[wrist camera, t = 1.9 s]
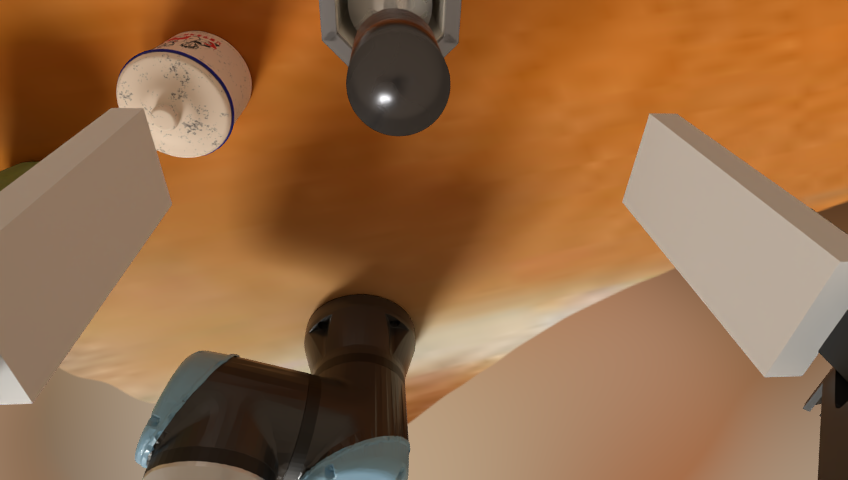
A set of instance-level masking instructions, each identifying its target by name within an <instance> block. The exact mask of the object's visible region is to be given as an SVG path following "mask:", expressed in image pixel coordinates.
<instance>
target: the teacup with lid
mask: <svg viewBox="0 0 848 480" xmlns="http://www.w3.org/2000/svg"><path fill="white" fill-rule="evenodd" d="M251 91H252V81H251V75H250V72H249V69H248V67H247V64H246V63H245V61H244V59H243V58H242V56H241V55H240V54H239V52H238V51H237V50H236V49H235V48H234V47H233V46H232V45H230V44H229V43H228V42H226V41H225V40H223V39H222V38H220V37H218V36H216V35H213V34H210V33H207V32H202V31H187V32H183V33H180V34H177V35H175V36H173V37H172V38H170V39H168V40H167V41H165V42H164V43H162V44H160V45H159V46H157V47H156V48H154V49H152V50H148V51H144V52H142V53H139V54H138V55H136V56H134V57H133V58H132V59H130V60H129V61H128V62H127V63H126V64H125V66H124V67H123V69H122V70H121V72H120V75H119V78H118V82H117V88H116V95H117V102H118V106H119V108H144V111H145V115H146V118H147V121H148V125H149V128H150V131H151V135H152V138H153V142H154V145H155V148H156V150H158V151H160V152H162V153H165V154H168V155H172V156H176V157H184V158H191V157H199V156H203V155H207V154H209V153H212V152H214V151H215V150H217V149H218V148H220V147H221V146H222V145H223V144H224V143H225V142H226V140H227V139H228V137H229V136H230V134H231V131H232V129H233V125H234V123H235V122H236V120H237V119H238V117H239V116H240V114H241V113H242V112H243V110H244V109H245V107H246V106H247V104H248V102H249V99H250V96H251Z"/></svg>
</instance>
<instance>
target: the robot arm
mask: <svg viewBox="0 0 848 480" xmlns="http://www.w3.org/2000/svg"><path fill="white" fill-rule="evenodd" d="M623 203H624V205H625V206H626V207H627V208H628V210H629V211H630V212H631V213H632V215H633V216H634V217H635V218H636V219H637V221H638V222H639V223H640V224H641V226H642V227H643V228H644V229H645V231H646V232H647V233H648V234H649V235H650V237H651V238H652V239H653V240H654V242H655V243H656V244H657V245H658V247H659V248H660V249H661V250H662V252H663V253H664V254H665V255H666V256H667V258H668V259H669V260H670V261H671V263H672V264H673V265H674V266H675V268H676V269H677V270H678V271H679V272H680V274H681V275H682V276H683V277H684V279H685V280H686V281H687V282H688V284H689V285H690V286H691V287H692V288H693V290H694V291H695V292H696V293H697V295H698V296H699V297H700V298H701V300H702V301H703V302H704V303H705V304H706V305H707V307H708V308H709V309H710V311H711V312H712V313H713V314H714V316H715V317H716V318H717V319H718V320H719V322H720V323H721V324H722V325H723V327H724V328H725V329H726V330H727V332H728V333H729V334H730V335H731V337H732V338H733V339H734V340H735V341H736V343H737V344H738V345H739V346H740V348H741V349H742V350H743V351H744V352H745V354H746V355H747V356H748V357H749V359H750V360H751V361H752V362H753V363H754V365H755V366H756V367H757V368H758V370H759V371H760V372H761V373H762V375H763V376H764V377H787V376H802V375H803V374H804V373H805V371H806V370H807V369H808V367H809V366H810V364H811V363H812V362H813V360H814V359H815V357H816V356H817V355H818V353H820V354H821V355H822V356H823V357H824V358H825V359H826V360H827V361H828V362H829V363H830V364H831V365H832V366H833V368H832V369H831V370H830V372H829V373H828V374H827V375H826V377H825V378H824V379H823V381H822V382H821V383H820V384H819V386H818V387H817V389H816V390H815V391H814V392H813V394H812V395H811V396H810V398H809V399H808V400H807V402H806V404H805V406H804V407H803V409H805V410H807V411H811V409H812V408H813V407H814V405H817V404H822V407H821V414H820V416H821V426H820V447H819V468H818V480H848V235H847V233H845V232H844V231H842V230H841V229H839V228H838V227H837V226H835V225H833V224H832V223H831V222H829V221H828V220H827V219H825V218H824V217H823V216H821V215H820V214H818V213H817V212H816V211H814V210H813V209H811V208H809V207H808V206H806V205H805V204H804V203H802V202H801V201H799V200H798V199H796V198H795V197H794V196H792V195H791V194H789V193H788V192H787V191H785V190H784V189H782V188H781V187H779V186H778V185H777V184H775V183H774V182H772V181H771V180H770V179H768V178H767V177H765V176H764V175H762V174H761V173H760V172H758V171H757V170H755V169H754V168H753V167H751V166H750V165H748V164H747V163H745V162H744V161H743V160H741V159H740V158H738V157H737V156H736V155H734V154H733V153H731V152H730V151H729V150H727V149H726V148H724V147H723V146H721V145H720V144H719V143H717V142H716V141H714V140H713V139H712V138H710V137H709V136H707V135H706V134H704V133H703V132H702V131H700V130H699V129H697V128H696V127H695V126H693V125H692V124H690V123H689V122H687V121H686V120H685V119H683V118H682V117H680V116H679V115H678V114H649V117H648V121H647V124H646V127H645V130H644V134H643V137H642V140H641V143H640V147H639V150H638V153H637V156H636V159H635V163H634V166H633V169H632V172H631V176H630V179H629V182H628V185H627V189H626V192H625V195H624V198H623ZM171 205H172V202H171V199H170V195H169V192H168V189H167V185H166V182H165V179H164V175H163V172H162V168H161V165H160V162H159V158H158V155H157V152H156V148H155V145H154V142H153V138H152V135H151V131H150V128H149V125H148V121H147V118H146V115H145V111H144V108H111V109H109V110H108V111H107V112H105V113H104V114H103V115H101V116H100V117H99V118H97V119H96V120H95V121H93V122H92V123H91V124H89V125H88V126H87V127H85V128H84V129H83V130H81V131H80V132H79V133H77V134H76V135H75V136H73V137H72V138H71V139H69V140H68V141H67V142H65V143H64V144H63V145H61V146H60V147H59V148H57V149H56V150H55V151H53V152H52V153H51V154H49V155H48V156H47V157H45V158H44V159H43V160H41V161H40V162H39V163H37V164H36V165H35V166H33V167H32V168H31V169H29V170H28V171H27V172H25V173H24V174H23V175H21V176H20V177H19V178H17V179H16V180H15V181H13V182H12V183H11V184H10V185H8V186H7V187H6V188H4V189H3V190H2V191H0V405H2V404H3V405H4V404H30V403H31V404H32V403H33V402H34V401H35V400H36V398H37V397H38V395H39V394H40V392H41V391H42V390H43V388H44V387H45V385H46V384H47V382H48V381H49V380H50V378H51V377H52V375H53V374H54V372H55V371H56V370H57V368H58V367H59V365H60V364H61V362H62V361H63V360H64V358H65V357H66V355H67V354H68V352H69V351H70V350H71V348H72V347H73V345H74V344H75V342H76V341H77V340H78V338H79V337H80V335H81V334H82V332H83V331H84V330H85V328H86V327H87V325H88V324H89V322H90V321H91V320H92V318H93V317H94V315H95V314H96V312H97V311H98V310H99V308H100V307H101V305H102V304H103V302H104V301H105V300H106V298H107V297H108V295H109V294H110V292H111V291H112V289H113V288H114V287H115V285H116V284H117V282H118V281H119V279H120V278H121V277H122V275H123V274H124V272H125V271H126V269H127V268H128V267H129V265H130V264H131V262H132V261H133V259H134V258H135V257H136V255H137V254H138V252H139V251H140V249H141V248H142V247H143V245H144V244H145V242H146V241H147V239H148V238H149V237H150V235H151V234H152V232H153V231H154V229H155V228H156V227H157V225H158V224H159V222H160V221H161V219H162V218H163V217H164V215H165V214H166V212H167V211H168V209H169V208H170V207H171ZM304 346H305V352H306V356H307V360H308V364H309V368H310V372H311V374H308V373H305V372H301V371H296V370H292V369H288V368H283V367H279V366H275V365H270V364H266V363H262V362H257V361H253V360H249V359H244V358H240V357H239V355H237V354H230V355H227V354H221V353H216V352H211V351H198V352H196V353H194V354H192V355H190V356H189V357H187V358H186V359H185V360H184V361H183V362H182V363H181V365H180V366H179V367H178V369H177V370H176V371H175V373H174V374H173V376H172V377H171V379H170V381H169V382H168V384H167V386H166V387H165V389H164V391H163V392H162V394H161V396H160V398H159V400H158V401H157V403H156V405H155V407H154V409H153V411H152V416H151V418H150V419H149V421H148V423H147V425H146V427H145V428H144V430H143V432H142V435H141V437H140V440H139V443H138V445H137V448H136V453H135V461H136V462H137V463H139V464H141V466H142V467H145V468H147V469H146V471H145V474H144V476H143V479H142V480H407V479H408V466H409V452H410V444H409V442H408V426H407V410H406V394H405V377H406V374H407V371H408V368H409V366H410V363H411V360H412V357H413V354H414V351H415V330H414V325H413V322H412V320H411V318H410V317H409V315H408V314H407V313H406V312H405V311H404V310H403V309H402V308H401V307H400V306H398V305H397V304H395V303H393V302H391V301H389V300H387V299H384V298H381V297H377V296H372V295H349V296H344V297H340V298H337V299H334V300H332V301H330V302H328V303H326V304H324V305H323V306H321V307H320V308H319V309H318V310H317V311H316V312H315V313H314V314H313V315H312V317H311V318H310V320H309V322H308V325H307V328H306V334H305V341H304Z"/></svg>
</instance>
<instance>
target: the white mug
mask: <svg viewBox="0 0 848 480" xmlns="http://www.w3.org/2000/svg"><path fill="white" fill-rule="evenodd" d="M319 7H320V20H321V33H322V41H323V42H324V43H325V44H326V45H327V46H328V47H329V48H330V49H331V50H332V51H333V52H334V53H335V54H336V55H337V56H338V57H339V58H340V59H341V60H342V61H343V62H344V63H345V64H346V65H347V66H348V67H349V62H350V57H351V52H352V47H353V42H354V39H355V36H356V33H357V30H356V29H355V27H354V25H353V23H352V21H351V18H350V15H349V11H348V0H319ZM460 14H461V0H432V14H431V18H430V21H429V24H428V26H429V27H430V28H431V30H432V32H433V34H434V36H435V39H436V41H437V43H438V46H439V48H440V50H441V53H442V55H443V57H445V56H446V55H447V54H448V53H449V52H450V51H451V50H452V49H453V48H454V47H455V46H456V45H457V44H458V41H459V27H460Z"/></svg>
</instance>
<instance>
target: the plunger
mask: <svg viewBox="0 0 848 480" xmlns="http://www.w3.org/2000/svg"><path fill="white" fill-rule="evenodd" d="M348 11H349V15H350V18H351V21H352V23H353V25H354V27H355V29H356V30H357V33H356V36H355V39H354V42H353V47H352V52H351V57H350V62H349V67H348V72H347V79H346V87H347V94H348V98H349V101H350V104H351V106H352V108H353V110H354V112H355V113H356V114H357V116H358V117H359V118H360V119H361V120H362V121H363V122H364V123H365V124H366V125H367V126H369V127H370V128H372V129H373V130H375V131H377V132H380V133H383V134H386V135H391V136H406V135H412V134H415V133H418V132H420V131H422V130H424V129H426V128H427V127H429V126H430V125H431V124H432V123H434V122H435V121H436V120H437V119H438V117H439V116H440V115H441V113H442V112H443V110H444V108H445V106H446V104H447V101H448V98H449V94H450V75H449V71H448V67H447V65H446V62H445V60H444V57H443V55H442V53H441V50H440V48H439V46H438V43H437V41H436V39H435V36H434V34H433V32H432V30H431V28H430V27H429V26H428V24H429V21H430V18H431V14H432V0H348Z"/></svg>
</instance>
